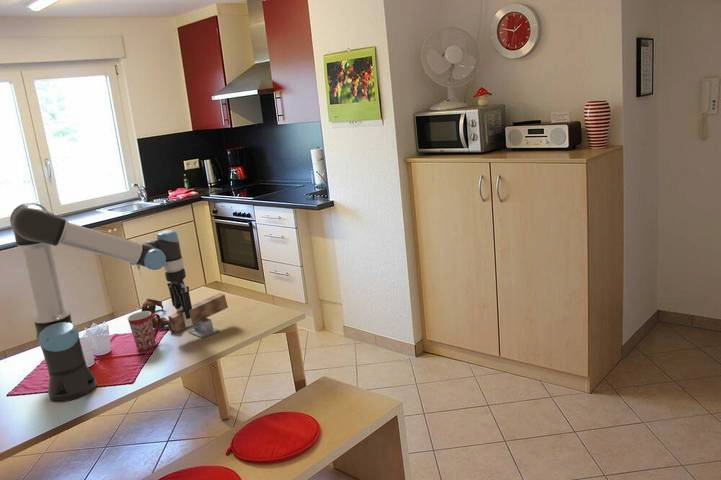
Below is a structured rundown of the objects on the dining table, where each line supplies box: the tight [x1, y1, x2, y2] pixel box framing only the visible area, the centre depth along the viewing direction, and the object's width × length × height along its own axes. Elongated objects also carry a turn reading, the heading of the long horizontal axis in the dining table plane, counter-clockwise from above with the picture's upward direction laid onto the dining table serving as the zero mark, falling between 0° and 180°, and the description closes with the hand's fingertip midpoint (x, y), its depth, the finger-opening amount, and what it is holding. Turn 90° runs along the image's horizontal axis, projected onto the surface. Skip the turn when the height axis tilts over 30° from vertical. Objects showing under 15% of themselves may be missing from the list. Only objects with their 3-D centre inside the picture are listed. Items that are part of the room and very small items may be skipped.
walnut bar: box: [167, 292, 229, 333], centre depth 242 cm, size 24×4×6 cm, turn 134°
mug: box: [126, 310, 162, 351], centre depth 236 cm, size 13×9×14 cm
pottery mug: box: [140, 298, 164, 315], centre depth 273 cm, size 12×10×8 cm
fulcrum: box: [187, 317, 221, 339], centre depth 243 cm, size 8×12×6 cm, turn 44°
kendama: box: [152, 316, 179, 334], centre depth 252 cm, size 6×10×20 cm
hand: (185, 324), depth 238 cm, fingers open, 4 cm apart
